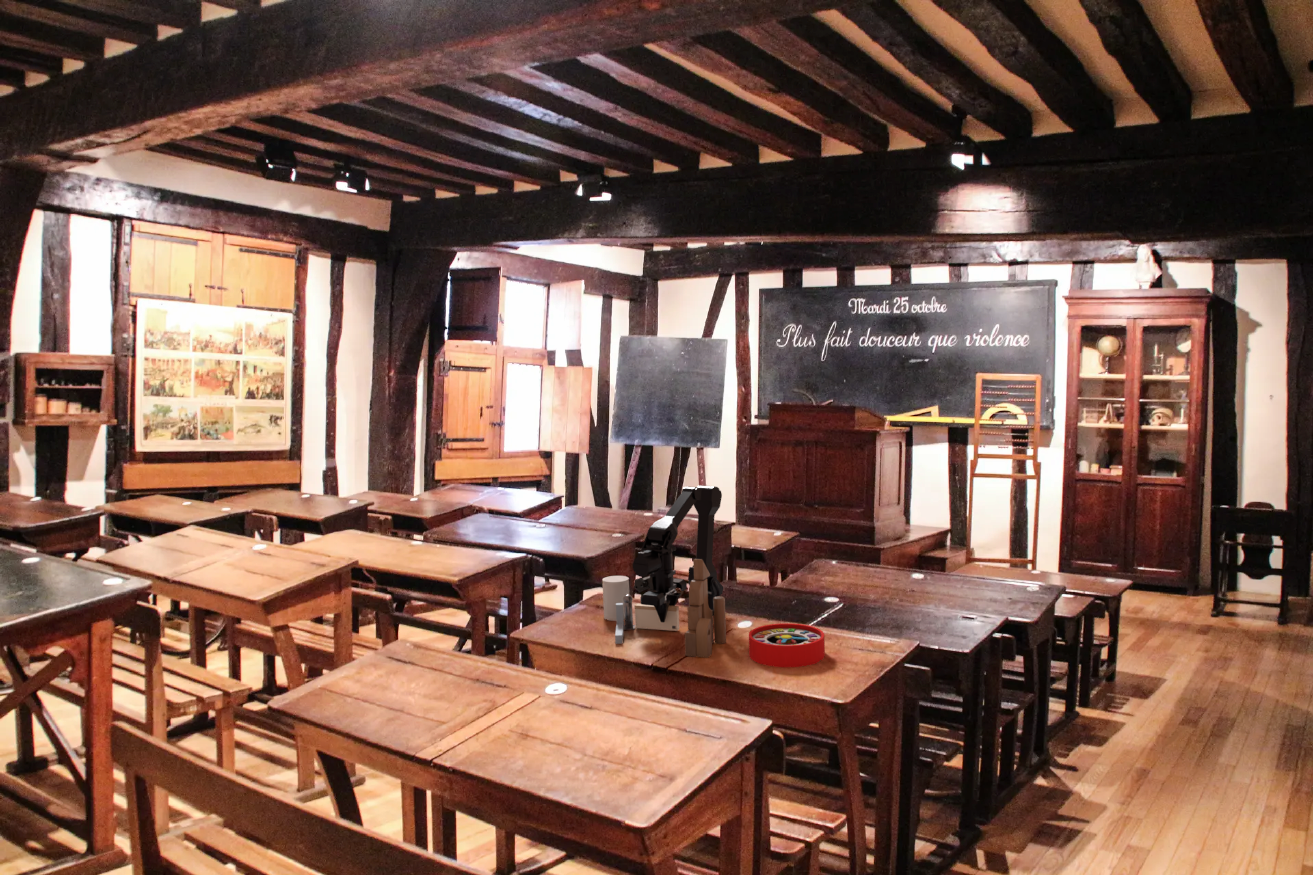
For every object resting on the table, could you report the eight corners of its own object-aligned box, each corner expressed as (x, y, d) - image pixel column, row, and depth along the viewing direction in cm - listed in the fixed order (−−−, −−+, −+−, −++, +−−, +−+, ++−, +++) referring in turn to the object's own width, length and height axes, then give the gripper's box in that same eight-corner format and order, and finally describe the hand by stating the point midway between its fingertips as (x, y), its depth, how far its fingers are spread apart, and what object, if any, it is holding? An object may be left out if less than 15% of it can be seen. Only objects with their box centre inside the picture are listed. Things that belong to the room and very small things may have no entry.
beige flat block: (635, 627, 288) (634, 605, 287) (638, 625, 290) (637, 603, 290) (677, 630, 284) (676, 608, 283) (679, 628, 286) (678, 606, 285)
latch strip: (624, 629, 289) (623, 602, 288) (622, 643, 275) (621, 615, 274) (617, 629, 289) (616, 603, 288) (615, 643, 275) (614, 615, 274)
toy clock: (758, 621, 272) (830, 625, 266) (758, 641, 273) (830, 646, 266) (740, 643, 254) (817, 648, 247) (741, 665, 254) (817, 670, 248)
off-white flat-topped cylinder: (619, 611, 308) (618, 574, 307) (635, 616, 301) (634, 578, 300) (598, 617, 303) (597, 579, 301) (614, 622, 296) (613, 583, 295)
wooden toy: (708, 658, 260) (705, 565, 257) (685, 655, 262) (681, 564, 260) (727, 641, 274) (724, 553, 271) (705, 639, 276) (702, 552, 274)
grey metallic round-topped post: (635, 625, 292) (633, 592, 291) (634, 629, 288) (633, 596, 287) (623, 626, 292) (621, 593, 291) (622, 629, 288) (621, 596, 287)
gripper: (653, 558, 295) (655, 608, 297) (622, 574, 279) (625, 627, 281) (686, 561, 290) (688, 611, 292) (657, 577, 274) (660, 631, 276)
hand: (665, 620), depth 285 cm, fingers open, 3 cm apart
